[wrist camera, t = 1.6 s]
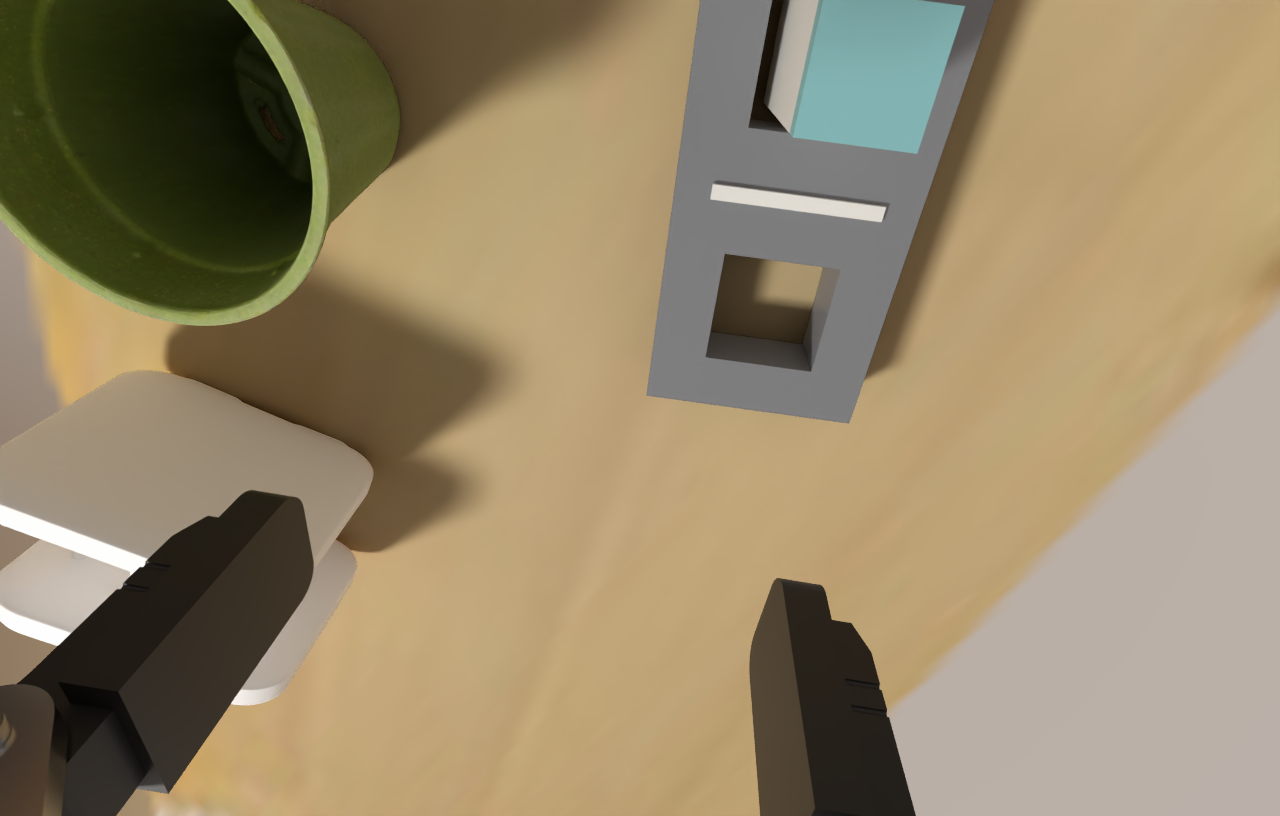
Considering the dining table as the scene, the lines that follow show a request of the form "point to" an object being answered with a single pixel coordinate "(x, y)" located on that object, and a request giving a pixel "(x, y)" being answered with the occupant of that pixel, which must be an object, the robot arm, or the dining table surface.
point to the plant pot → (186, 146)
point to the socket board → (786, 227)
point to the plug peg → (860, 69)
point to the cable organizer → (165, 502)
